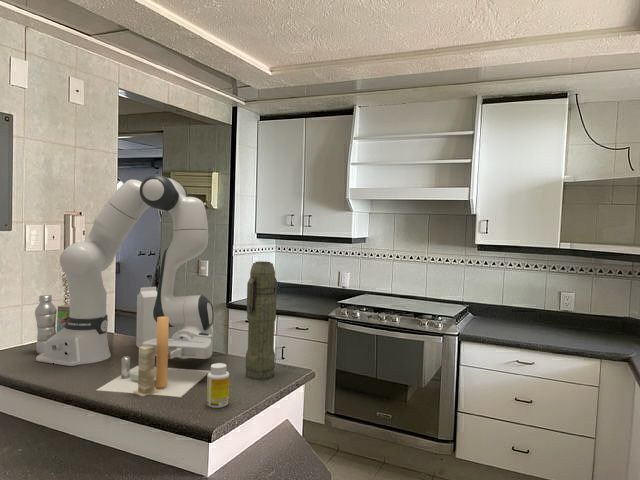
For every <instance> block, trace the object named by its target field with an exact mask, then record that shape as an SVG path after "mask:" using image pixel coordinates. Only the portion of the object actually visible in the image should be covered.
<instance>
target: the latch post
mask: <svg viewBox="0 0 640 480" xmlns="http://www.w3.org/2000/svg"><path fill="white" fill-rule="evenodd" d="M138 366H139V371H138V390H135V391H133V393H132V394H134V395H135V394H136V395H138V396H139V397H141V398H145V397H148V396H152V395H151V394H155V393H158V392H160V391H158V390H156V389H154V378H155V367H156V356H155V347H153V346H150V345H147V346H142V347H138Z"/></svg>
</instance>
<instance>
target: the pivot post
mask: <svg viewBox="0 0 640 480" xmlns="http://www.w3.org/2000/svg"><path fill="white" fill-rule="evenodd" d="M120 359H121V369H120V370H121V371H120V376H121V378H122V379H128V378H130V370H131V356H128V355H126V356H122V357H121V358H120Z"/></svg>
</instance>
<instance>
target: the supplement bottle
mask: <svg viewBox="0 0 640 480" xmlns="http://www.w3.org/2000/svg"><path fill="white" fill-rule="evenodd" d="M206 379H207V381H206V383H207V384H206V404H207V406H208V407H210V408H214V409H220V408H225V407H226V406H228V404H229V401H230V373H229V371H227V363H222V362H217V363H212V364H211V365H210V372H209V373H208V374H207V375H206Z"/></svg>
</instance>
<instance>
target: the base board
mask: <svg viewBox="0 0 640 480" xmlns="http://www.w3.org/2000/svg"><path fill="white" fill-rule="evenodd" d="M138 371H139V365H136V366H134V367H133V368H130V373H132V372H138ZM209 372H211V370H202V369H189V368H188V369H187V368H178V367H177V368H176V367H168V376H167V386H165V387H157V386H154V389H156V390H158V391H160V392H158V393H155V394H151V395H150V396H152V395H153V396H154V395H155V396H164V397H174V398H177V399H178V398H182V397H183V396H184V395H185V394H187V393H188V392H189V391H190V390H191V389H192V388H193V387H195V386H196V385H197V384H198V383H199V382H200V381H201V380H202V379H204V378H205V377H207V375H208V373H209ZM155 377H156V366H155ZM135 390H138V381H136V380H132V379H130V378H128V379H122V378H121V375H118V376H117V377H115V378H114V379H112V380H111V381H109V382H107V383H105V384H104V385H102V386H101V387H98V389H96V391H97V392H98V391H100V392H114V393H124V394H125V393H126V394H134V393H133V391H135Z"/></svg>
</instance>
